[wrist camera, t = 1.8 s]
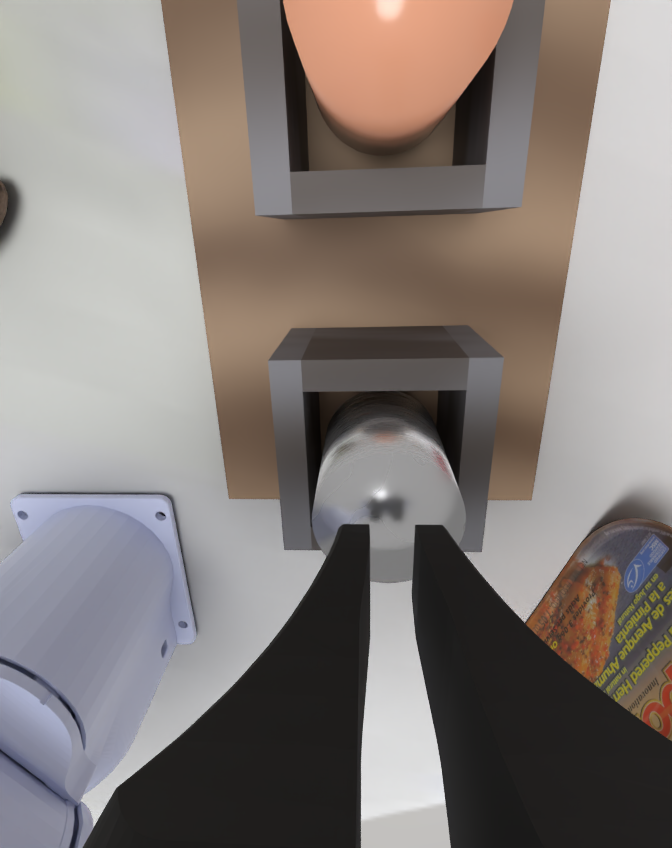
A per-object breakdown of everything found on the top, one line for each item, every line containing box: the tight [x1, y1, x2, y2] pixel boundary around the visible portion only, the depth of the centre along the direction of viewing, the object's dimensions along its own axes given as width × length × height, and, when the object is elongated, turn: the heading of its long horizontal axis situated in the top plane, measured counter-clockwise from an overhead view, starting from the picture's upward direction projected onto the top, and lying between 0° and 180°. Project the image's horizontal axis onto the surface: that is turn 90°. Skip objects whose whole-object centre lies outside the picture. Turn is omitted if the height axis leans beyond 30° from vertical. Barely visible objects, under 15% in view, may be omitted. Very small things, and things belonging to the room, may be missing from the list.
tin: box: [526, 518, 672, 741], centre depth 20 cm, size 15×3×8 cm, turn 160°
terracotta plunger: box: [283, 0, 513, 156], centre depth 10 cm, size 4×4×5 cm
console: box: [161, 0, 611, 552], centre depth 16 cm, size 20×14×6 cm
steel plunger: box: [312, 391, 466, 583], centre depth 14 cm, size 4×4×5 cm
